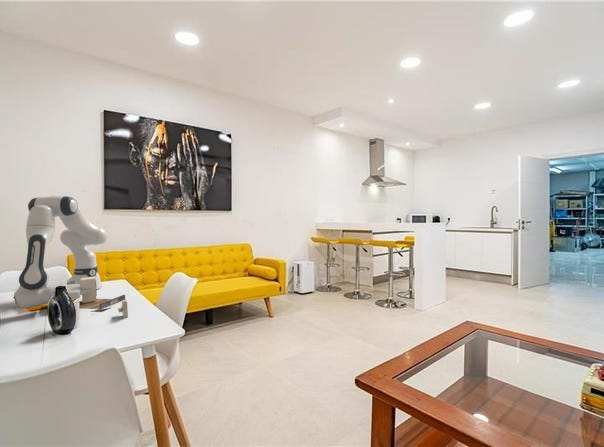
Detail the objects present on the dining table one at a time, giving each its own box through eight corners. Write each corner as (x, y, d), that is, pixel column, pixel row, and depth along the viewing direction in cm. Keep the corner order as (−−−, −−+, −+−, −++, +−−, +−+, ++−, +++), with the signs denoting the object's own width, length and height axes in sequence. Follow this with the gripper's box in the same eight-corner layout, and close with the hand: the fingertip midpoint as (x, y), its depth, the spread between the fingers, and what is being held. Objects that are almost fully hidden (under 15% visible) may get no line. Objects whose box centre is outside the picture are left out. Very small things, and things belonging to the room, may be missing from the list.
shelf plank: (61, 310, 157) (60, 302, 157) (88, 301, 173) (88, 293, 172) (102, 312, 153) (101, 303, 153) (125, 302, 168) (125, 294, 168)
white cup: (85, 324, 136) (83, 301, 136) (70, 331, 128) (68, 307, 128) (68, 324, 137) (67, 301, 137) (52, 331, 129) (50, 307, 129)
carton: (82, 303, 162) (81, 280, 161) (82, 300, 167) (81, 278, 166) (97, 300, 166) (95, 278, 165) (96, 298, 170) (95, 276, 170)
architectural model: (119, 320, 142) (118, 303, 142) (118, 315, 148) (117, 300, 148) (128, 318, 144) (127, 302, 144) (126, 314, 150) (125, 299, 150)
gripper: (56, 292, 150) (90, 287, 158) (58, 283, 166) (90, 279, 174) (56, 305, 150) (91, 299, 158) (59, 295, 167) (90, 291, 175)
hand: (90, 289), depth 166 cm, fingers closed on carton, 6 cm apart
